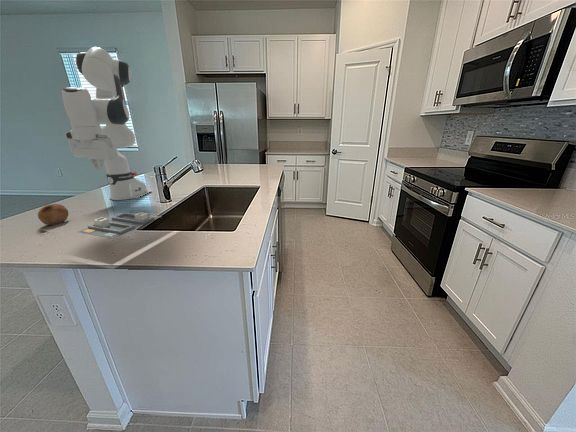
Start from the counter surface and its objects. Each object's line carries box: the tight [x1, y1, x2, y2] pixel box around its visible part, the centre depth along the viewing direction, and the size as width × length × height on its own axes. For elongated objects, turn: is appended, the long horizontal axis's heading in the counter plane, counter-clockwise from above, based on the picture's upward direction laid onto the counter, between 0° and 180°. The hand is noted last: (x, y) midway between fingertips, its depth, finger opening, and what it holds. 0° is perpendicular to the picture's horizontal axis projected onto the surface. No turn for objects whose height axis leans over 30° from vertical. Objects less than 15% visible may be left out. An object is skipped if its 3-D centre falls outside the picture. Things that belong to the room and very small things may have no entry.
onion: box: [37, 203, 69, 226], centre depth 102 cm, size 10×9×10 cm
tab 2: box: [134, 211, 149, 221], centre depth 104 cm, size 3×4×4 cm
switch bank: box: [77, 211, 163, 239], centre depth 102 cm, size 24×18×2 cm
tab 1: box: [92, 216, 110, 228], centre depth 98 cm, size 3×4×4 cm
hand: (99, 169), depth 99 cm, fingers closed
